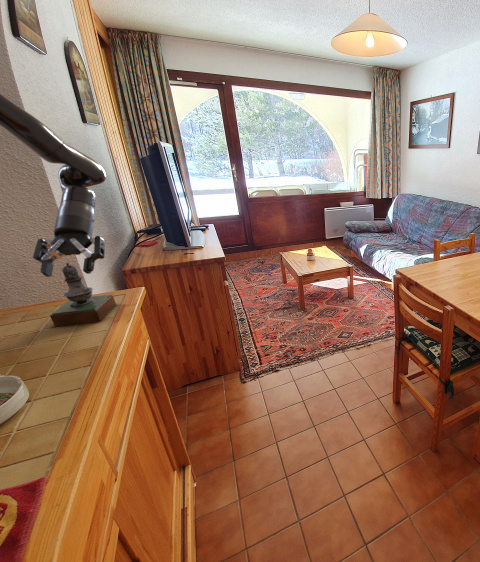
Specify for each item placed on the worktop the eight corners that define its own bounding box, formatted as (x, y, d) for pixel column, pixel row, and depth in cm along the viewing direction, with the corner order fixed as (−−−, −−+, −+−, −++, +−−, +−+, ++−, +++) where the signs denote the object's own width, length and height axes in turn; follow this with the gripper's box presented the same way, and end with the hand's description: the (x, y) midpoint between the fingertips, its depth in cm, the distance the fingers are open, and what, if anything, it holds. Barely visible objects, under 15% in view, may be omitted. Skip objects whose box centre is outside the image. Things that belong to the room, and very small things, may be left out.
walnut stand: (54, 326, 81) (49, 314, 80) (75, 309, 90) (70, 298, 88) (100, 321, 84) (95, 309, 83) (116, 305, 93) (112, 293, 91)
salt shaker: (63, 306, 84) (45, 265, 79) (86, 297, 89) (70, 258, 84) (79, 309, 82) (62, 267, 78) (102, 299, 88) (87, 260, 83)
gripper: (32, 214, 81) (21, 270, 75) (98, 212, 85) (91, 265, 79) (53, 229, 88) (43, 282, 82) (113, 227, 92) (107, 277, 86)
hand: (67, 274), depth 81 cm, fingers open, 8 cm apart
